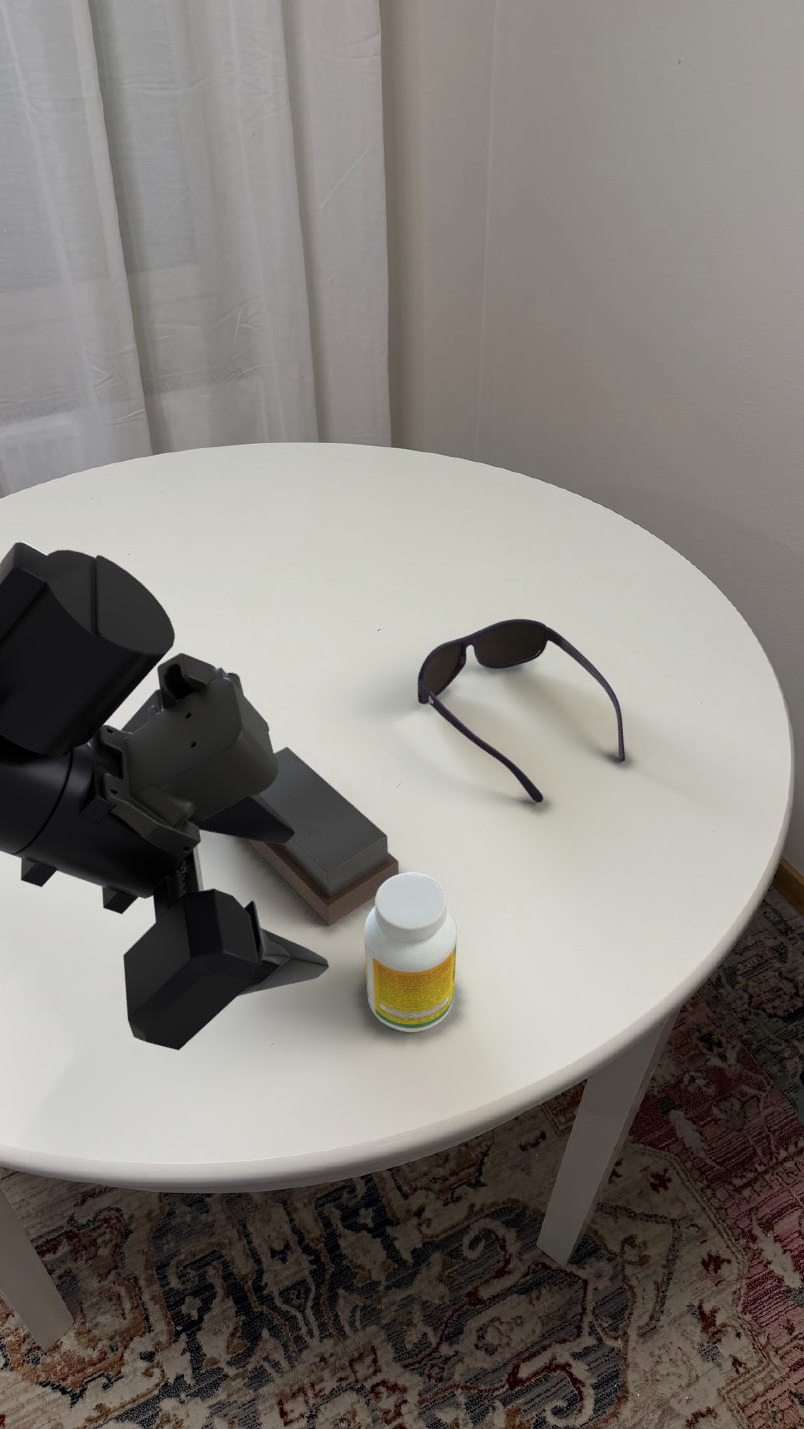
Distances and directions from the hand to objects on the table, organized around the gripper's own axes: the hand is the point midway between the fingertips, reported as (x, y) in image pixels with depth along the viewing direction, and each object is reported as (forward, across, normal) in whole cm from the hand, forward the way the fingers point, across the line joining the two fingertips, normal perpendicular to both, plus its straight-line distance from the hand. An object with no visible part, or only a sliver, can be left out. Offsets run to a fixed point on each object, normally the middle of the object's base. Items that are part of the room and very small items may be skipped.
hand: (305, 898), depth 53 cm
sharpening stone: (+10, +14, +7) cm, 19 cm away
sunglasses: (+24, +22, -6) cm, 33 cm away
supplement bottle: (+13, 0, +5) cm, 14 cm away
